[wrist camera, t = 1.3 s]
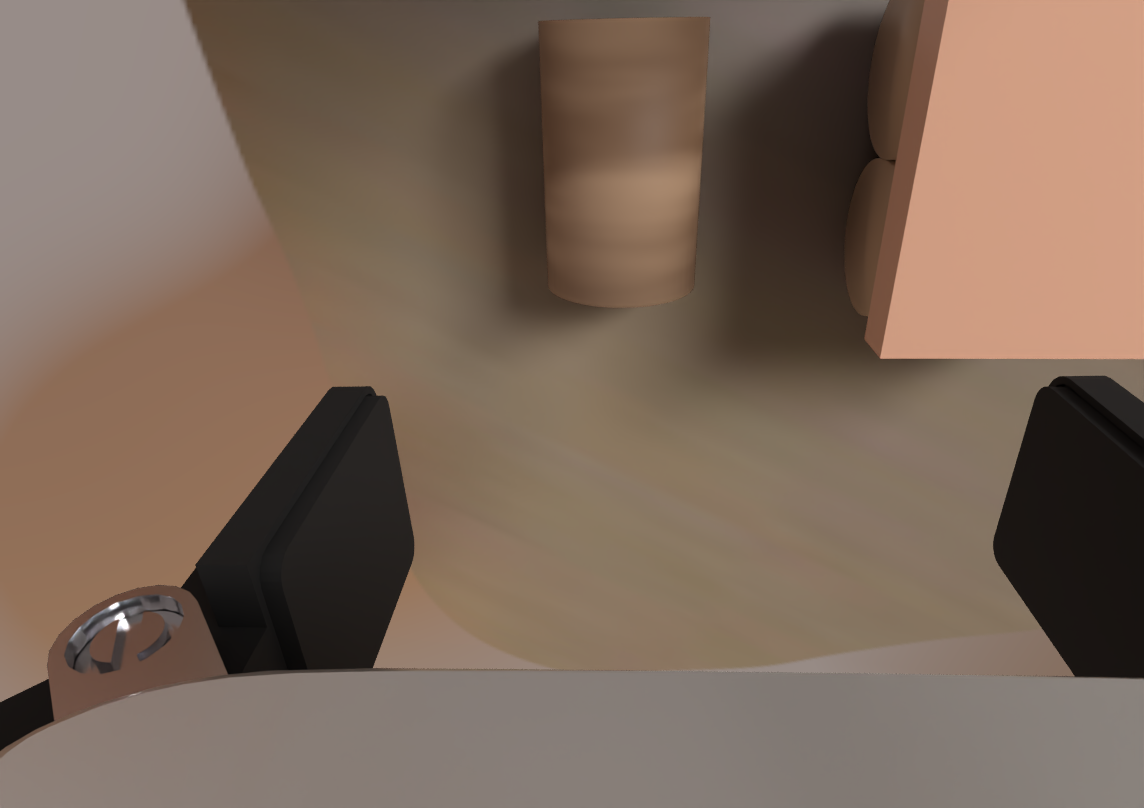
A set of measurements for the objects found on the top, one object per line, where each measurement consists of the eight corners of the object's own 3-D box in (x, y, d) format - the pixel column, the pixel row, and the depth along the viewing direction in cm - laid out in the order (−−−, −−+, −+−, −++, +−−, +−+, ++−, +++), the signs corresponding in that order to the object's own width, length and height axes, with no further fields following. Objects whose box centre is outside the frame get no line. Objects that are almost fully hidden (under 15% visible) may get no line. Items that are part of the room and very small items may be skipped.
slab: (867, -22, 22) (956, -40, 17) (1170, -30, 22) (1369, -51, 16) (822, 288, 27) (880, 358, 21) (1072, 287, 27) (1200, 359, 21)
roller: (548, 22, 24) (527, 20, 19) (703, 18, 23) (718, 15, 19) (555, 261, 27) (540, 307, 23) (689, 262, 27) (699, 308, 22)
